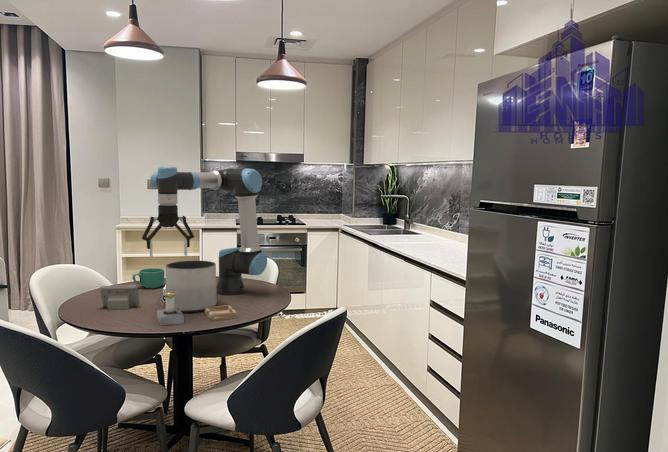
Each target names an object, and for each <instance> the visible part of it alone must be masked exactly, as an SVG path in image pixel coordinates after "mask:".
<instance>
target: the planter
mask: <svg viewBox="0 0 668 452" xmlns="http://www.w3.org/2000/svg"><path fill="white" fill-rule="evenodd" d="M216 286H217V264H216V263H215V262H213V261H210V260H182V261H181V260H180V261H174V262H170V263H168V264H165V292H168V291H175V292H176V295H175V296H174V302H175V308H179V309H180V310H181V312H182V313H197V312H205V307H214V306H217V305H216V304H217V299H218V298H217V296H218V293H216Z"/></svg>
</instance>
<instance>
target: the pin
mask: <svg viewBox="0 0 668 452" xmlns="http://www.w3.org/2000/svg"><path fill="white" fill-rule="evenodd" d="M162 295H163V296H164V298H165V299H164V301H165V303H164V304H165V309H166V315H167V314H175V302H174V296H175V295H176V292H175V291H168V292H166V291H164V292H162Z"/></svg>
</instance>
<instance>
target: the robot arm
mask: <svg viewBox="0 0 668 452" xmlns="http://www.w3.org/2000/svg"><path fill="white" fill-rule="evenodd" d="M149 181H150V185H151V187H153V189H155V190H156V189H157V193H158V194H157V204H158V207H157V211H158V212H157V213H158V216H150V217H149V222H148V224H147V226H146V229H145V231H144V232H143V234H142V237H141V239H142V240H143V241H146V249H147V250H149V257H150V258H153V256H154V255H153V241H152V239H153V238H154V237H155V236H156V234H157V233H158V232H159V231H160V230H161V229H162V228H164V229H166V228H174V227H175V228H176V230H178V231H179V233H180V234H181V236H183V237H184V238H185V239H183V247H184V248H183V254H184V256H185V257H187V256H188V248H190V245H191V243H190V242H191V239H194V238H195V235H194V234H193V232H192V229H191V228H190V226H189V224H188V222H187V218H186V216H185V215H182V216H179V215H178V213H179V211H178V209H179V208H178V207H179V206H178V191H192V190H197V189H210V190H212V191H224V192H230V193H231V192H232V193H233V194H234V195H233V196H234V197H235V199H236V200H237V205H238V220H239V232H240V247H231V248H224V249H220V250H219V252H218V280H217V282H216V294H217V295H222V296H223V295H225V296H226V295H230V296H233V295H239V294H244V293H245V291H246V287H245V286H246V285H245V284H244V280H243V276H242V275H248V276H260V275H261V274H263V273H264V272H265V270H266V268H267V265H268V256H267V254H266V253H264V252H263V249H262V247H261V245H259V235H258V233H259V232H258V223H257V222H258V220H257V205H256V203H257V201H256V198H257V197H258V196H259V192H260V191H261V190H262V186H263V178H262V176H261V174H260V173H259V171H257V170H256V169H254V168H248V167H246V168H224V169H219V170H218V169H217V170H215V169H213V170H211V171H207V172H206V171H205V172H202V171H201V172H197V171H195V172H192V171H178V168H177V167H176V166H159V167H158V168H157V172H153V173H152V174H151V176H150V180H149ZM179 220H180V222H182V223H183V225H184V227H185V229H186V231H187V233H186V232H185V231H184V229H183V228H181V226H180V225H179V224H178V222H179ZM156 221H157V222H158V225H157V226H156V227H155V229H153V231H152V232H151V233H150V231H151V229H152V227H153V225H154V223H156ZM149 233H150V234H149ZM148 234H149V235H148Z"/></svg>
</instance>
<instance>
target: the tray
mask: <svg viewBox="0 0 668 452" xmlns="http://www.w3.org/2000/svg"><path fill="white" fill-rule="evenodd" d="M204 314H205V315H206V316H207V318H208V319H209V320H210V321H211V322H215V321H220V320H221V321H222V320H231V319H238V312H237V311H236V310H235V309H234V308H233V307H232V306H231V305H230V304H227V305H226V304H225V305H215V306H214V307H205V310H204Z"/></svg>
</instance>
